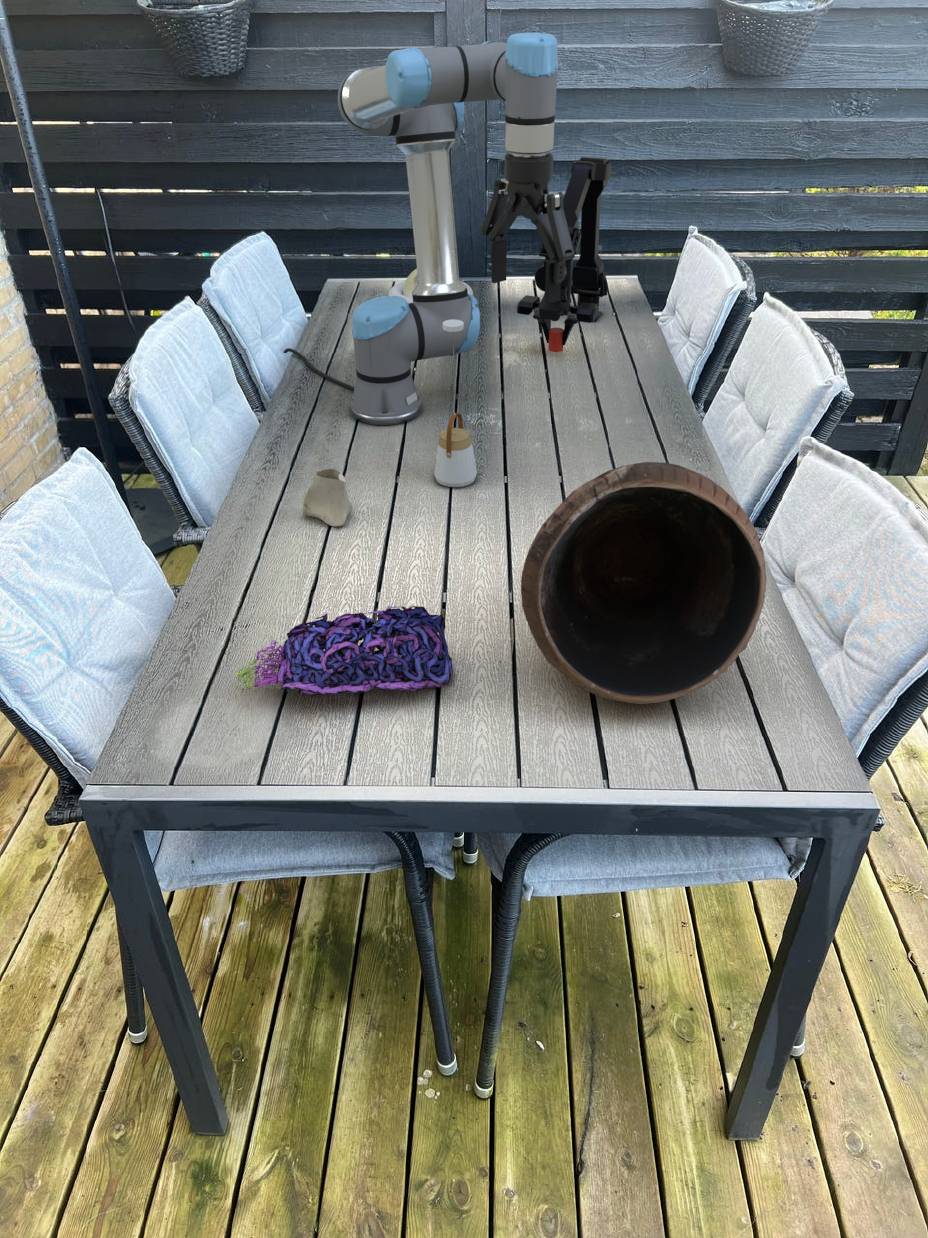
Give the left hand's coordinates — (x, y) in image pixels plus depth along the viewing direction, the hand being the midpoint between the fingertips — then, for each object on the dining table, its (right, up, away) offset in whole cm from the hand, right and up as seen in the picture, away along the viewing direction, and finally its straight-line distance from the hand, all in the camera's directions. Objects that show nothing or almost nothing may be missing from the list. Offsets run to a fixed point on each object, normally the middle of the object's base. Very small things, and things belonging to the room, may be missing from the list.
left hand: (524, 291), depth 156 cm
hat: (-19, +22, +88) cm, 93 cm away
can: (+12, +11, +70) cm, 72 cm away
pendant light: (-12, -28, +23) cm, 38 cm away
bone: (-35, -37, +11) cm, 52 cm away
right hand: (+12, +12, +70) cm, 72 cm away
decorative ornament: (-27, -64, -25) cm, 74 cm away
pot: (+14, -59, -18) cm, 63 cm away
